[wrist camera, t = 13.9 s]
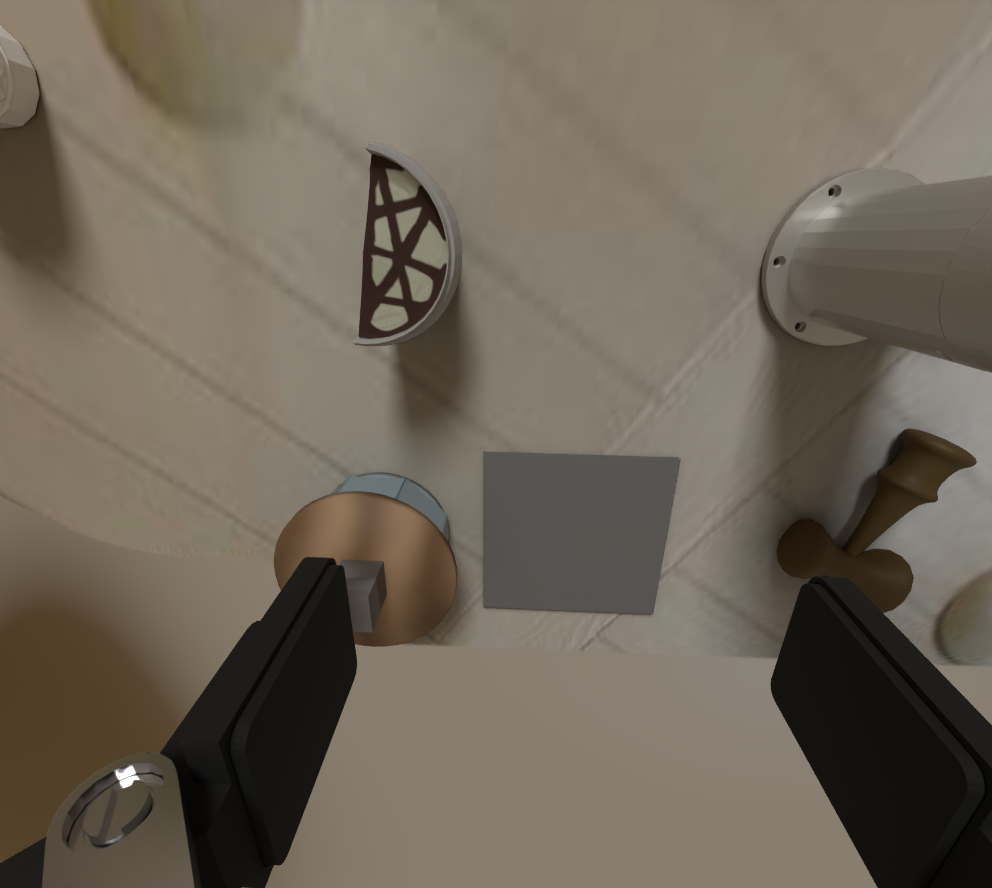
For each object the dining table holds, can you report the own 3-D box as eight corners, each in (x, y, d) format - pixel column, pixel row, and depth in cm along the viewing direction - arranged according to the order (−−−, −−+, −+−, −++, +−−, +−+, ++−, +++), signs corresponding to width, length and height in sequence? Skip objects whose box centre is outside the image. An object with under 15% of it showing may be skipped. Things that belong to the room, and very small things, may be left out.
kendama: (962, 448, 43) (824, 610, 50) (871, 406, 43) (743, 577, 50) (1026, 475, 38) (861, 653, 45) (922, 428, 37) (770, 617, 44)
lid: (454, 493, 40) (445, 531, 34) (459, 641, 46) (451, 691, 41) (264, 488, 40) (227, 524, 35) (294, 634, 46) (266, 683, 41)
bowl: (447, 474, 46) (436, 509, 40) (451, 583, 51) (441, 629, 45) (314, 470, 47) (284, 504, 41) (330, 578, 52) (306, 623, 46)
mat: (678, 457, 44) (680, 459, 44) (651, 610, 51) (653, 614, 51) (484, 451, 45) (483, 454, 45) (483, 603, 52) (483, 607, 52)
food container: (460, 339, 41) (443, 368, 32) (389, 325, 41) (351, 350, 32) (485, 178, 36) (473, 158, 27) (405, 162, 36) (365, 135, 27)
